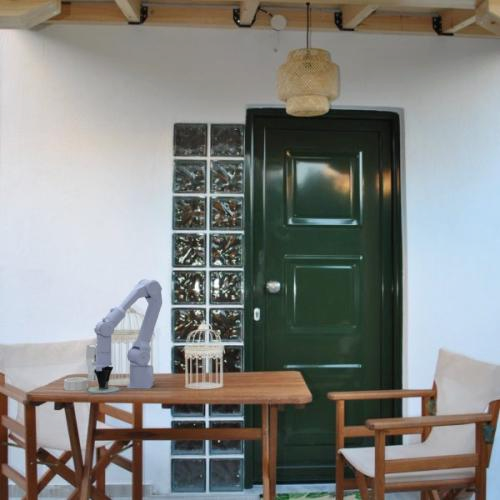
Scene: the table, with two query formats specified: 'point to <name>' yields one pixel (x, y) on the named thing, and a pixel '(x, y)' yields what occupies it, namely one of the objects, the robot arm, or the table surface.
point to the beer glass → (91, 362)
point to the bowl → (75, 384)
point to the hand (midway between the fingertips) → (103, 386)
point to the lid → (103, 389)
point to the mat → (103, 393)
